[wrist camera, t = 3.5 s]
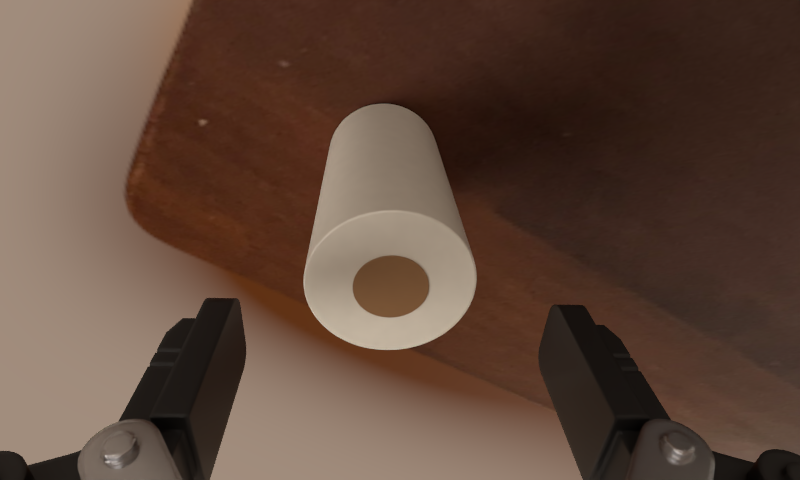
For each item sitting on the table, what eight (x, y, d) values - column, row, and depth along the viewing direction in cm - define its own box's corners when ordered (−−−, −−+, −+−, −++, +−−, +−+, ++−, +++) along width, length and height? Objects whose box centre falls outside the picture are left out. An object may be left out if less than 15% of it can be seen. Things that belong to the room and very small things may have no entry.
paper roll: (328, 100, 21) (298, 208, 12) (442, 105, 21) (490, 213, 13) (330, 203, 24) (306, 351, 15) (432, 206, 24) (465, 352, 15)
